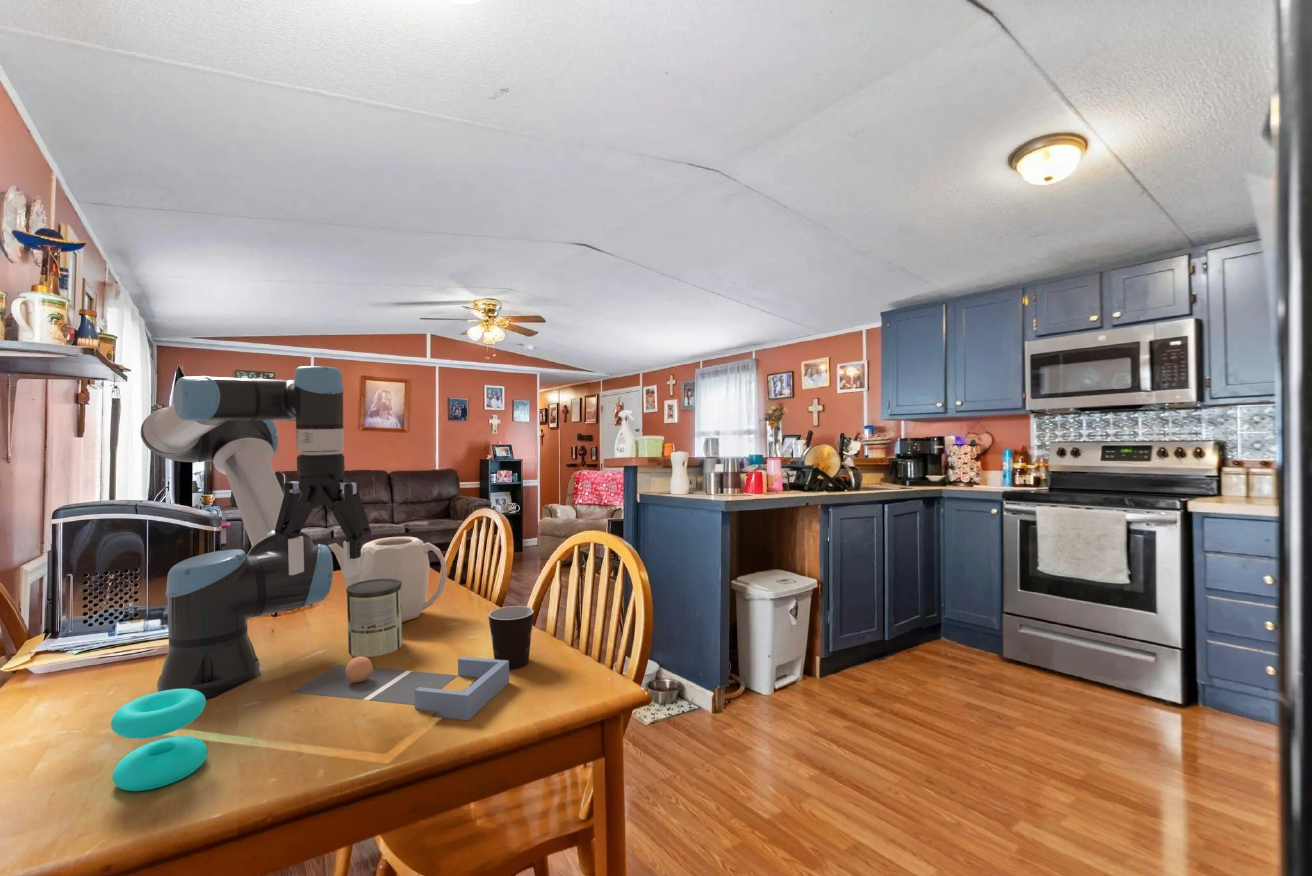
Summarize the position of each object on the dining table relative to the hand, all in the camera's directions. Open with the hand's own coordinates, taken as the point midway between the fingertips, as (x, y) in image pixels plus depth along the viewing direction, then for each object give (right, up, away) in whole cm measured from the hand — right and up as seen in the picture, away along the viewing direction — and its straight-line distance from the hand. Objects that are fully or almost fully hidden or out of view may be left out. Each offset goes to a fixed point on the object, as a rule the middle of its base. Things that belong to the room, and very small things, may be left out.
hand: (323, 574), depth 111 cm
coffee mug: (+32, -20, +11) cm, 39 cm away
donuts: (-7, -21, -28) cm, 35 cm away
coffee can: (+2, -20, +15) cm, 25 cm away
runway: (+10, -20, -2) cm, 22 cm away
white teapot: (-4, -19, +38) cm, 42 cm away
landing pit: (+26, -20, -5) cm, 34 cm away
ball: (+7, -19, -1) cm, 20 cm away
